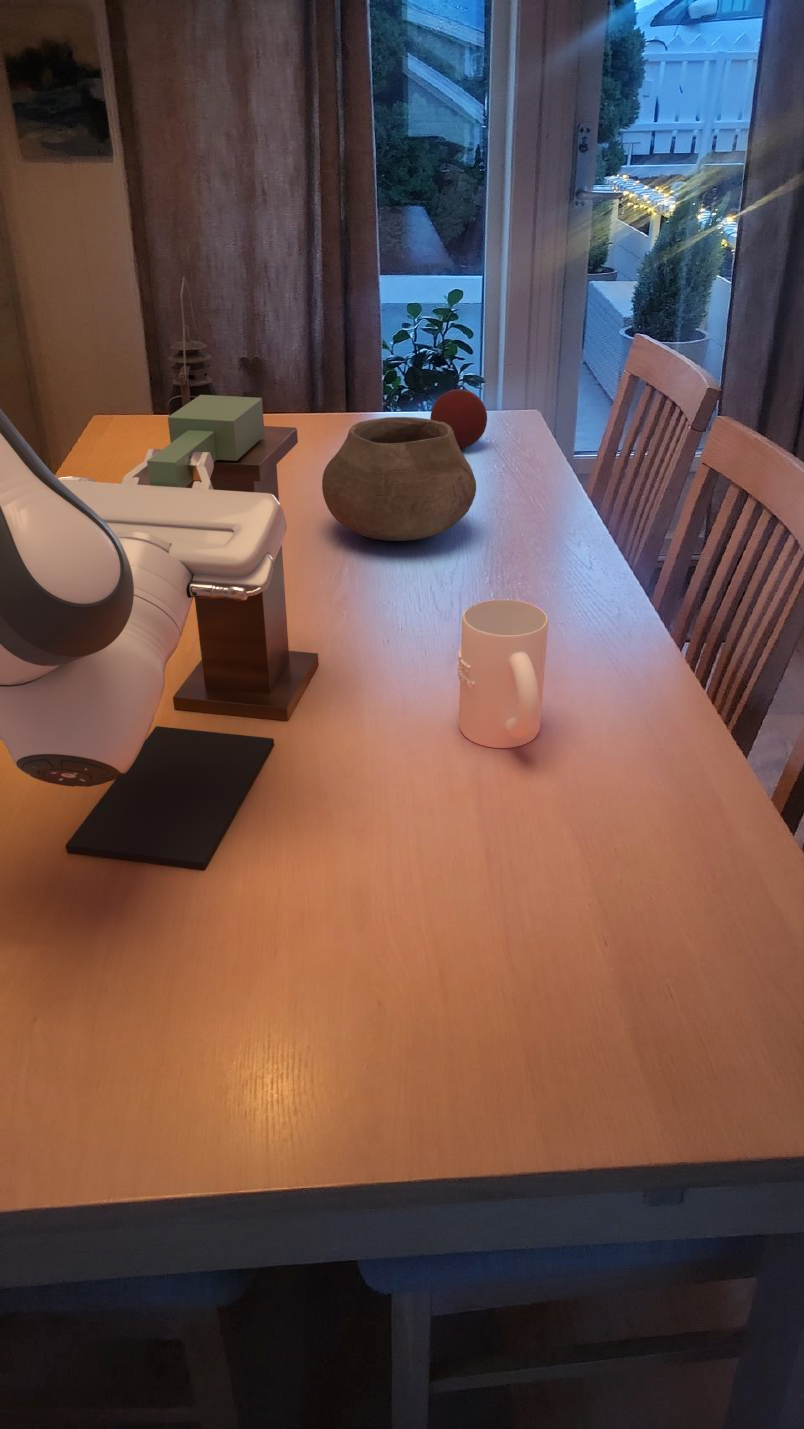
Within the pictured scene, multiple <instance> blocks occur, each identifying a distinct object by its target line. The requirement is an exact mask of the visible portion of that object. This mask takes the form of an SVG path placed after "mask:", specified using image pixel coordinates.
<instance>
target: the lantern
mask: <svg viewBox="0 0 804 1429" xmlns="http://www.w3.org/2000/svg"><path fill="white" fill-rule="evenodd" d="M184 287H185V288H186V290H187V294H188V295H187V296H188V300H189V306H190V307H189V308H190V313H191V319H192V325H193V329H194V335H195V338H196V340H191V339H190V330H189V326H188V325H187V324H185V313H184V301H183V293H184ZM192 302H193V301H192V297H191V291H190V288H189V285H188V283H187V279H186V276H182V283H181V289H180V308H181V319H182V320H181V321H182V322H181V323H182V341H177V342H175V343H173V344H171V345H170V349H171V350H174V351H175V350H176V351H178V352H176V353H175V354H172V355H171V356H169V357H168V361H169V362H171V363H174V365H172V366H171V367H170V371H171V373H172V374H175V376H176V377H175V378H174V379H172V384H173V385H172V388H171V392H170V396H169V399H168V402H167V413H168V417H169V416H170V415H172V414H173V413H175V412H176V411H178V410H179V409H180V408H182V407H183V406H185V405H186V404H188V403H189V402H191V401H192V400H194V399H195V398H197V397H198V396H200V395H215V396H220V395H219V394H218V391H217V390H216V388H215V386H214V384H213V378H212V377H210V376H208V373H209V372H211V371H212V365H211V364H209V363H207V362H208V361H210V360H212V355H210V354H209V353H207V352H206V353H205V352H202V351H201V350H202V349H204V348H207V346H208V345H207V344H206V343H204V342H203V341H199V336H198V330H197V325H196V320H195V316H194V315H195V314H194V309H193V303H192Z"/></svg>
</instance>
